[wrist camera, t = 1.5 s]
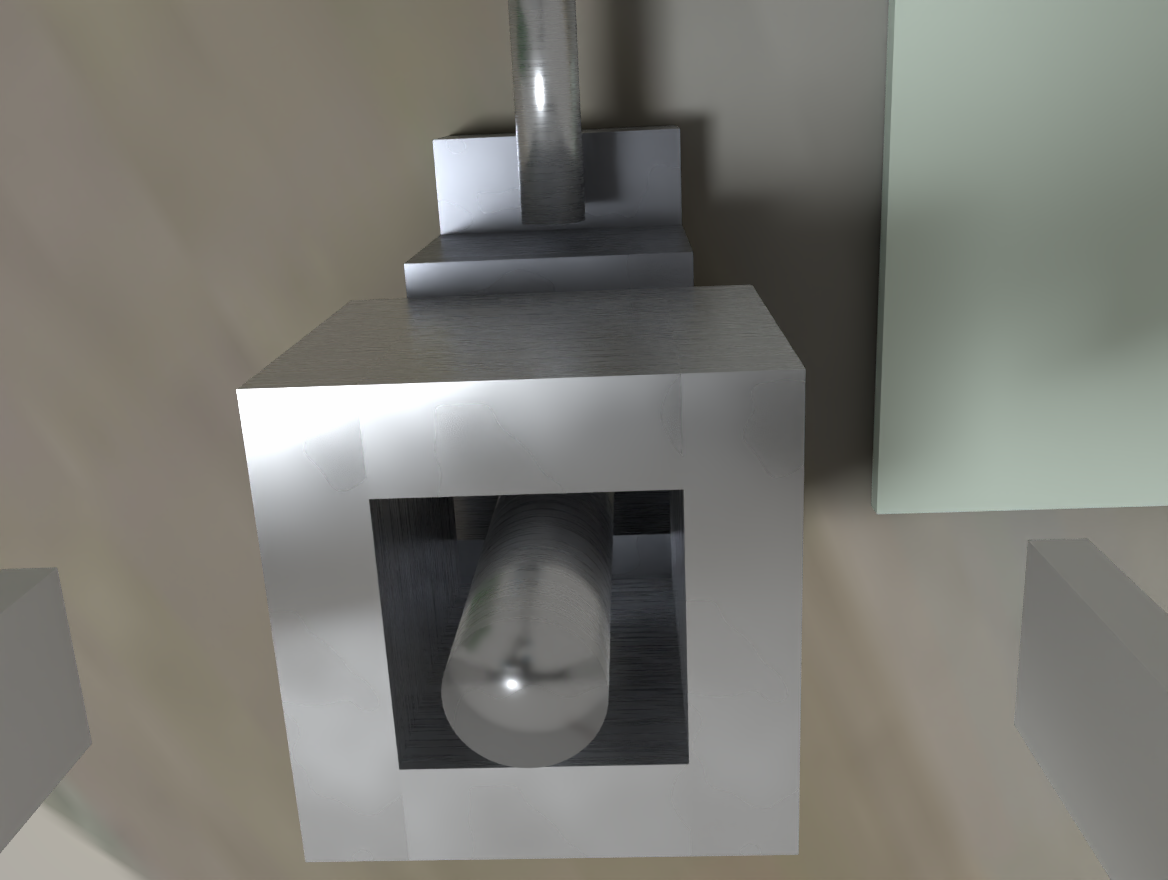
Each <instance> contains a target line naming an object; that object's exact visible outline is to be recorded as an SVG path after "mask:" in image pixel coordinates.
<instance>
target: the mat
mask: <svg viewBox="0 0 1168 880" xmlns="http://www.w3.org/2000/svg"><path fill="white" fill-rule="evenodd" d="M871 505H872V507H873V509H874V511H875V512H876V514H903V513H937V512H970V511H1004V510H1038V509H1072V508H1105V507H1139V506H1168V0H889V6H888V35H887V64H886V93H885V122H884V151H883V180H882V209H881V238H880V267H879V296H878V325H877V354H876V383H875V412H874V441H873V470H872V499H871Z"/></svg>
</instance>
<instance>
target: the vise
mask: <svg viewBox="0 0 1168 880" xmlns="http://www.w3.org/2000/svg"><path fill="white" fill-rule="evenodd" d="M508 10H509V26H510V42H511V58H512V74H513V90H514V106H515V122H516V133H499V134H477V135H456V136H446V137H442V138H438V139H435V140H433V149H434V161H435V172H436V184H437V196H438V208H439V220H440V231H441V235H440V236H438V237H437V238H436V239H435V240H433V241H432V242H431V243H430V244H428V245H427V246H426V247H425V248H423V249H422V250H421V251H420V252H418V253H417V254H416V255H415V256H413V257H412V258H411V259H410V260H408V261H407V262H406V263H405V264H404V268H405V279H406V289H407V298H426V297H451V296H476V295H502V294H527V293H552V292H577V291H602V290H627V289H653V288H678V287H694V276H693V251H692V248H691V246H690V243H689V241H688V238H687V236H686V233H685V231H684V228H683V226H682V206H681V154H680V128H679V127H677V126H676V125H670V126H648V127H627V128H606V129H584V130H581V112H580V90H579V68H578V46H577V24H576V2H575V0H508ZM453 501H454V512H455V524H456V535H457V546H458V558H459V569H460V581H461V584H471V587H470V590H469V594H468V597H467V600H466V603H465V606H464V610H463V613H462V616H461V619H460V623H459V626H458V629H457V632H456V635H455V639H454V642H453V645H452V648H451V652H450V655H449V658H448V661H447V664H446V668H445V671H444V675H443V678H442V686H441V698H442V704H443V709H444V712H445V715H446V717H447V720H448V722H449V724H450V726H451V727H452V729H453V730H454V732H455V733H456V735H457V736H458V737H459V738H460V739H461V740H462V741H463V742H464V743H465V744H466V745H467V746H468V747H469V748H470V749H472V750H473V751H475V752H476V753H477V754H479V755H481V756H483V757H484V758H486V759H488V760H491V761H493V762H496V763H498V764H502V765H506V766H510V767H517V768H540V767H545V766H551V765H554V764H557V763H560V762H562V761H565V760H567V759H569V758H571V757H573V756H574V755H576V754H577V753H579V752H580V751H581V750H583V749H584V748H585V747H586V746H587V745H588V744H589V743H590V742H591V741H592V740H593V739H594V738H595V736H596V735H597V733H598V732H599V730H600V728H601V726H602V724H603V722H604V719H605V717H606V714H607V708H608V698H609V663H610V627H611V592H612V580H629V579H666V578H672V566H671V525H670V490H649V491H617V492H584V493H552V494H520V495H487V496H455V497H453Z"/></svg>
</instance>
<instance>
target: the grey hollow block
mask: <svg viewBox="0 0 1168 880" xmlns="http://www.w3.org/2000/svg"><path fill="white" fill-rule="evenodd" d="M805 376H806V369H805V367H804V366H803V364H802V363H801V361H800V360H799V358H798V356H797V355H796V353H795V352H794V350H793V349H792V347H791V345H790V344H789V342H788V341H787V339H786V338H785V336H784V334H783V333H782V331H781V330H780V328H779V327H778V325H777V323H776V322H775V320H774V319H773V317H772V316H771V314H770V312H769V311H768V309H767V308H766V306H765V305H764V303H763V301H762V300H761V298H760V297H759V295H758V294H757V292H756V290H755V289H754V287H753V286H752V285H728V286H703V287H678V288H653V289H627V290H602V291H577V292H552V293H527V294H502V295H476V296H451V297H426V298H401V299H376V300H351V301H350V302H348V303H347V304H346V305H345V306H343V307H342V308H341V309H339V310H338V311H337V312H336V313H334V314H333V315H332V316H330V317H329V318H328V319H327V320H325V321H324V322H323V323H321V324H320V325H319V326H318V327H316V328H315V329H314V330H312V331H311V332H310V333H309V334H307V335H306V336H305V337H303V338H302V339H301V340H300V341H298V342H297V343H296V344H294V345H293V346H292V347H291V348H289V349H288V350H287V351H285V352H284V353H283V354H282V355H280V356H279V357H278V358H277V359H275V360H274V361H273V362H271V363H270V364H269V365H268V366H266V367H265V368H264V369H262V370H261V371H260V372H259V373H257V374H256V375H255V376H253V377H252V378H251V379H250V380H248V381H247V382H246V383H244V384H243V385H242V386H241V387H239V388H238V389H237V396H238V403H239V410H240V417H241V424H242V430H243V437H244V444H245V451H246V458H247V465H248V471H249V478H250V485H251V492H252V499H253V506H254V512H255V519H256V526H257V533H258V540H259V547H260V553H261V560H262V567H263V574H264V581H265V588H266V594H267V601H268V608H269V615H270V622H271V629H272V636H273V642H274V649H275V656H276V663H277V670H278V677H279V683H280V690H281V697H282V704H283V711H284V718H285V724H286V731H287V738H288V745H289V752H290V759H291V765H292V772H293V779H294V786H295V793H296V800H297V806H298V813H299V820H300V827H301V834H302V841H303V847H304V854H305V861H306V862H339V861H406V860H472V859H539V858H606V857H673V856H740V855H798V851H799V783H800V715H801V647H802V580H803V512H804V444H805ZM649 490H670V525H671V566H672V578H666V579H629V580H612V592H611V627H610V663H609V698H608V708H607V714H606V717H605V719H604V722H603V724H602V726H601V728H600V730H599V732H598V733H597V735H596V736H595V738H594V739H593V740H592V741H591V742H590V743H589V744H588V745H587V746H586V747H585V748H584V749H583V750H581V751H580V752H579V753H577V754H576V755H574V756H573V757H571V758H569V759H567V760H565V761H562V762H560V763H557V764H554V765H551V766H545V767H540V768H517V767H510V766H506V765H502V764H498V763H496V762H493V761H491V760H488V759H486V758H484V757H483V756H481V755H479V754H477V753H476V752H475V751H473V750H472V749H470V748H469V747H468V746H467V745H466V744H465V743H464V742H463V741H462V740H461V739H460V738H459V737H458V736H457V735H456V733H455V732H454V730H453V729H452V727H451V726H450V724H449V722H448V720H447V717H446V715H445V712H444V709H443V704H442V698H441V686H442V678H443V675H444V671H445V668H446V664H447V661H448V658H449V655H450V652H451V648H452V645H453V642H454V639H455V635H456V632H457V629H458V626H459V623H460V619H461V616H462V613H463V610H464V606H465V603H466V600H467V597H468V594H469V590H470V587H471V584H461V581H460V569H459V558H458V546H457V535H456V524H455V512H454V501H453V497H455V496H487V495H520V494H552V493H584V492H617V491H649Z"/></svg>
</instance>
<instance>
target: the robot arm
mask: <svg viewBox="0 0 1168 880" xmlns="http://www.w3.org/2000/svg"><path fill="white" fill-rule="evenodd" d="M1014 725H1015V727H1016V729H1017V730H1018V732H1019V733H1020V735H1021V737H1022V738H1023V740H1024V741H1025V743H1026V745H1027V746H1028V748H1029V749H1030V751H1031V753H1032V754H1033V756H1034V757H1035V759H1036V761H1037V762H1038V764H1039V765H1040V767H1041V769H1042V770H1043V772H1044V773H1045V775H1046V777H1047V778H1048V780H1049V781H1050V783H1051V785H1052V786H1053V788H1054V789H1055V791H1056V793H1057V794H1058V796H1059V797H1060V799H1061V801H1062V802H1063V804H1064V805H1065V807H1066V809H1067V810H1068V812H1069V814H1070V815H1071V817H1072V818H1073V820H1074V822H1075V823H1076V825H1077V826H1078V828H1079V830H1080V831H1081V833H1082V834H1083V836H1084V838H1085V839H1086V841H1087V842H1088V844H1089V846H1090V847H1091V849H1092V850H1093V852H1094V854H1095V855H1096V857H1097V858H1098V860H1099V862H1100V863H1101V865H1102V866H1103V868H1104V870H1105V871H1106V873H1107V874H1108V876H1109V878H1110V879H1111V880H1168V614H1167V613H1166V612H1165V611H1163V610H1162V609H1161V608H1160V607H1159V606H1158V605H1157V604H1156V603H1155V602H1154V601H1153V600H1152V599H1151V598H1150V597H1149V596H1148V595H1147V594H1145V593H1144V592H1143V591H1142V590H1141V589H1140V588H1139V587H1138V586H1137V585H1136V584H1135V583H1134V582H1133V581H1132V580H1131V579H1130V578H1129V577H1127V576H1126V575H1125V574H1124V573H1123V572H1122V571H1121V570H1120V569H1119V568H1118V567H1117V566H1116V565H1115V564H1114V563H1113V562H1112V561H1111V560H1109V559H1108V558H1107V557H1106V556H1105V555H1104V554H1103V553H1102V552H1101V551H1100V550H1099V549H1098V548H1097V547H1096V546H1095V545H1094V544H1093V543H1091V542H1090V541H1089V540H1088V539H1087V538H1085V539H1050V540H1028V546H1027V559H1026V572H1025V586H1024V599H1023V612H1022V625H1021V639H1020V652H1019V665H1018V678H1017V692H1016V705H1015V718H1014ZM91 744H92V740H91V735H90V730H89V725H88V720H87V715H86V710H85V705H84V700H83V695H82V690H81V685H80V680H79V675H78V670H77V665H76V660H75V655H74V650H73V645H72V640H71V635H70V630H69V625H68V620H67V615H66V610H65V605H64V600H63V595H62V589H61V584H60V579H59V574H58V569H57V568H23V569H2V570H1V571H0V853H1V852H2V850H3V849H4V848H5V847H6V846H7V844H8V843H9V842H10V841H11V840H12V838H13V837H14V836H15V835H16V834H17V832H18V831H19V830H20V829H21V828H22V827H23V825H24V824H25V823H26V822H27V820H28V819H29V818H30V817H31V816H32V814H33V813H34V812H35V811H36V810H37V809H38V807H39V806H40V805H41V804H42V803H43V801H44V800H45V799H46V798H47V797H48V795H49V794H50V793H51V792H52V791H53V789H54V788H55V787H56V786H57V785H58V783H59V782H60V781H61V780H62V779H63V777H64V776H65V775H66V774H67V773H68V771H69V770H70V769H71V768H72V767H73V765H74V764H75V763H76V762H77V761H78V759H79V758H80V757H81V756H82V755H83V754H84V752H85V751H86V750H87V749H88V748H89V746H90V745H91Z"/></svg>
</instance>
